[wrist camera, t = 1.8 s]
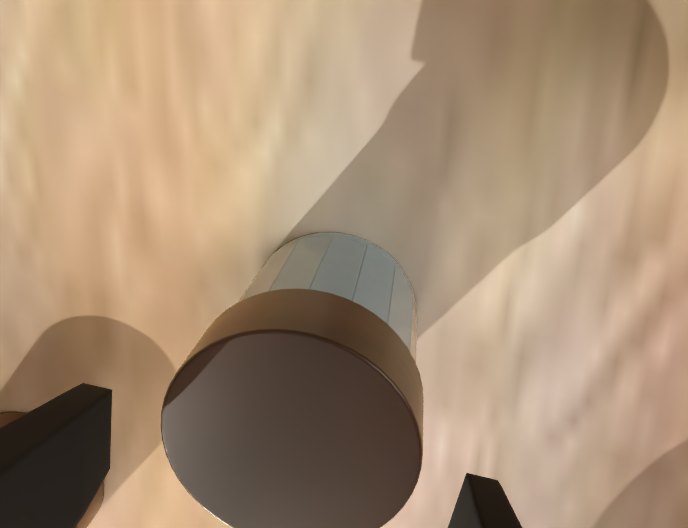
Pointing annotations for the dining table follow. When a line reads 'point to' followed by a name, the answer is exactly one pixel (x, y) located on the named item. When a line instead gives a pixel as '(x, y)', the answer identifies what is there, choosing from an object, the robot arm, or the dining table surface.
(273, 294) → the top chip
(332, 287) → the cup
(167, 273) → the dining table surface
